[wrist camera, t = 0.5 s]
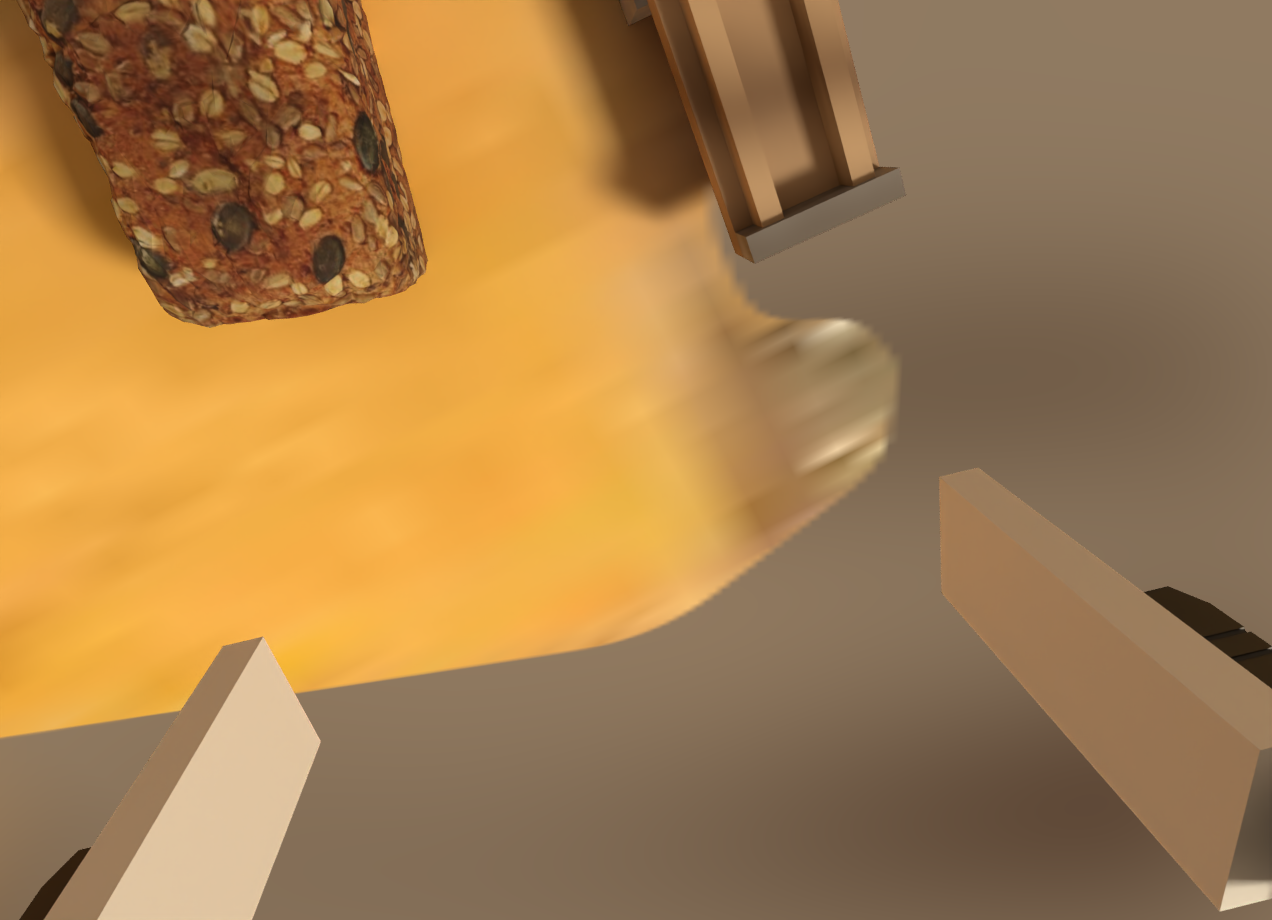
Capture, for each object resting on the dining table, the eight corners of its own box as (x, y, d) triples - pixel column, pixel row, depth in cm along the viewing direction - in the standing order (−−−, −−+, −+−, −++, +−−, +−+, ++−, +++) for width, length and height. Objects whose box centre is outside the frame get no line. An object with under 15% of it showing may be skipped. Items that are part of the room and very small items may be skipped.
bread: (73, -153, 28) (-154, -297, 19) (335, -185, 29) (234, -340, 20) (239, 301, 36) (131, 351, 27) (444, 271, 37) (407, 309, 27)
